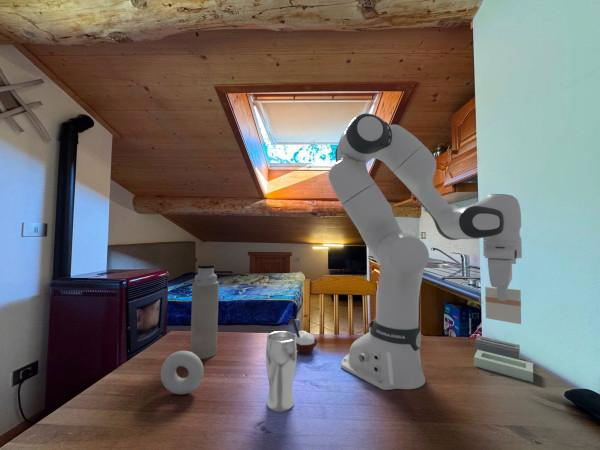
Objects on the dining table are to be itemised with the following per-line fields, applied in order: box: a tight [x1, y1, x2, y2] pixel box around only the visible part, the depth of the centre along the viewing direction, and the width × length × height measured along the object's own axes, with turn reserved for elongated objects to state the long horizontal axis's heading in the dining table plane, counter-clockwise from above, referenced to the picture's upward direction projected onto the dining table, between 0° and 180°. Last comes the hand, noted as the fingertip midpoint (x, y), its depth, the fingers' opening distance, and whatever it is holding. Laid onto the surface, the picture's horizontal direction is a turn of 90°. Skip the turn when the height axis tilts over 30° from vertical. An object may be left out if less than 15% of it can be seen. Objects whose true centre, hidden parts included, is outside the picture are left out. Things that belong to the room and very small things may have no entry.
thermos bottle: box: [189, 263, 220, 360], centre depth 87 cm, size 8×8×28 cm
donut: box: [160, 350, 205, 395], centre depth 65 cm, size 10×4×10 cm, turn 90°
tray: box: [473, 350, 534, 383], centre depth 77 cm, size 13×7×4 cm, turn 50°
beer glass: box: [265, 330, 298, 413], centre depth 62 cm, size 7×7×15 cm
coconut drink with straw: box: [290, 315, 318, 356], centre depth 88 cm, size 10×6×12 cm, turn 98°
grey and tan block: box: [474, 335, 521, 360], centre depth 85 cm, size 11×6×5 cm, turn 50°
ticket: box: [484, 286, 522, 325], centre depth 78 cm, size 8×2×9 cm, turn 49°
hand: (502, 299), depth 78 cm, fingers closed on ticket, 2 cm apart
